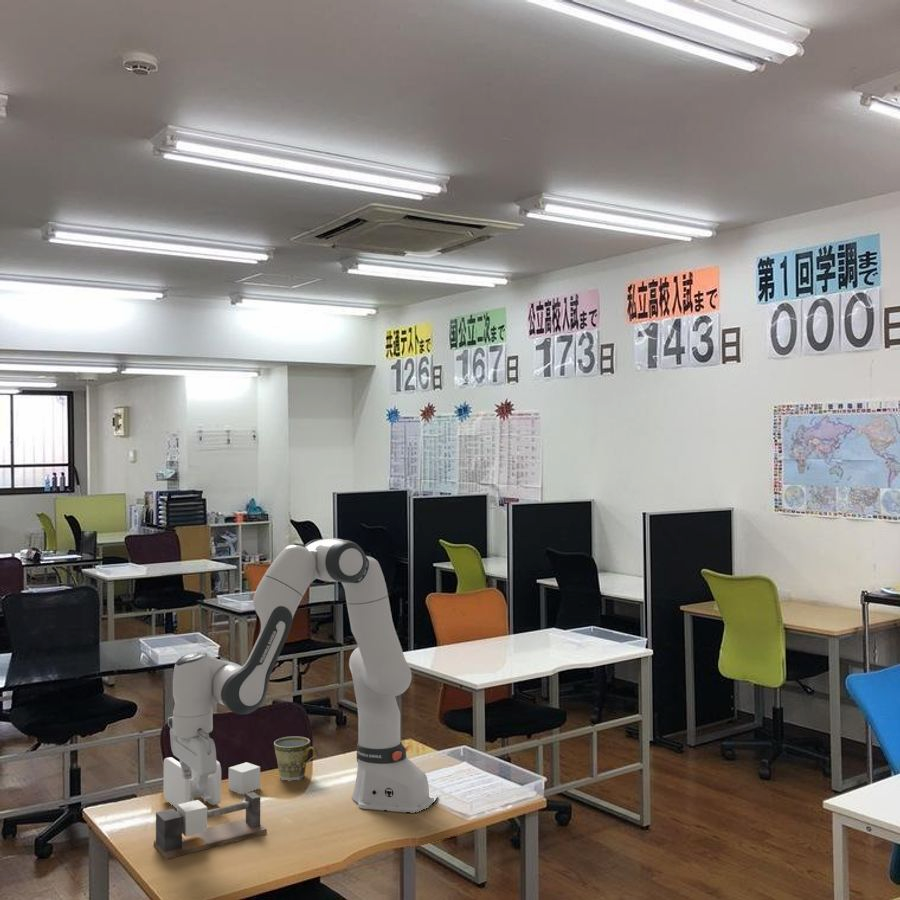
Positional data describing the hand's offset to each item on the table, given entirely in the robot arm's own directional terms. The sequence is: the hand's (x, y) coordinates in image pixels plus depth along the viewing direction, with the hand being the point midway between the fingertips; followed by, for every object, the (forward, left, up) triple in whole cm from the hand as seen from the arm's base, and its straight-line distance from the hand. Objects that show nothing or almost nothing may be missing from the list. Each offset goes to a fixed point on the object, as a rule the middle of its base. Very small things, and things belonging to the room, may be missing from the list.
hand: (194, 783), depth 213 cm
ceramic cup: (+3, -47, -14) cm, 49 cm away
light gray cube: (+11, -34, -14) cm, 38 cm away
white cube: (0, 0, -11) cm, 11 cm away
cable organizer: (+17, -20, -14) cm, 30 cm away
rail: (-2, -4, -14) cm, 14 cm away
